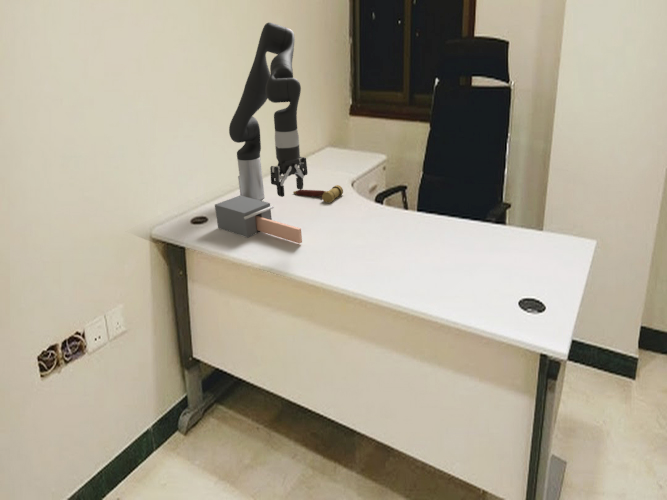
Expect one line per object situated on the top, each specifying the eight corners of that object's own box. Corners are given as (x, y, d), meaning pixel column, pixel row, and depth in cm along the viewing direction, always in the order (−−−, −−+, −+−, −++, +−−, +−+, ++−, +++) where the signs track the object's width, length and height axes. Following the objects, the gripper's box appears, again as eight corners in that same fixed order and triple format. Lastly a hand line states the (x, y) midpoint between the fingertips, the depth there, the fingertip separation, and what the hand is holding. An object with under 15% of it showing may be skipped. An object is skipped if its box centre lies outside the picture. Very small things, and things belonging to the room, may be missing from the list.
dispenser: (217, 228, 205) (213, 205, 201) (244, 217, 214) (241, 194, 210) (248, 238, 195) (245, 214, 191) (275, 226, 203) (273, 203, 200)
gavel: (286, 190, 232) (298, 183, 240) (288, 201, 234) (300, 193, 242) (331, 192, 222) (342, 185, 230) (332, 203, 224) (343, 195, 232)
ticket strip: (252, 229, 201) (251, 216, 199) (255, 228, 202) (253, 215, 200) (299, 243, 187) (298, 229, 185) (302, 242, 188) (301, 228, 186)
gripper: (294, 137, 184) (297, 184, 191) (262, 147, 175) (266, 196, 182) (311, 140, 180) (314, 188, 187) (279, 150, 170) (283, 201, 177)
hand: (290, 192), depth 184 cm, fingers open, 8 cm apart
